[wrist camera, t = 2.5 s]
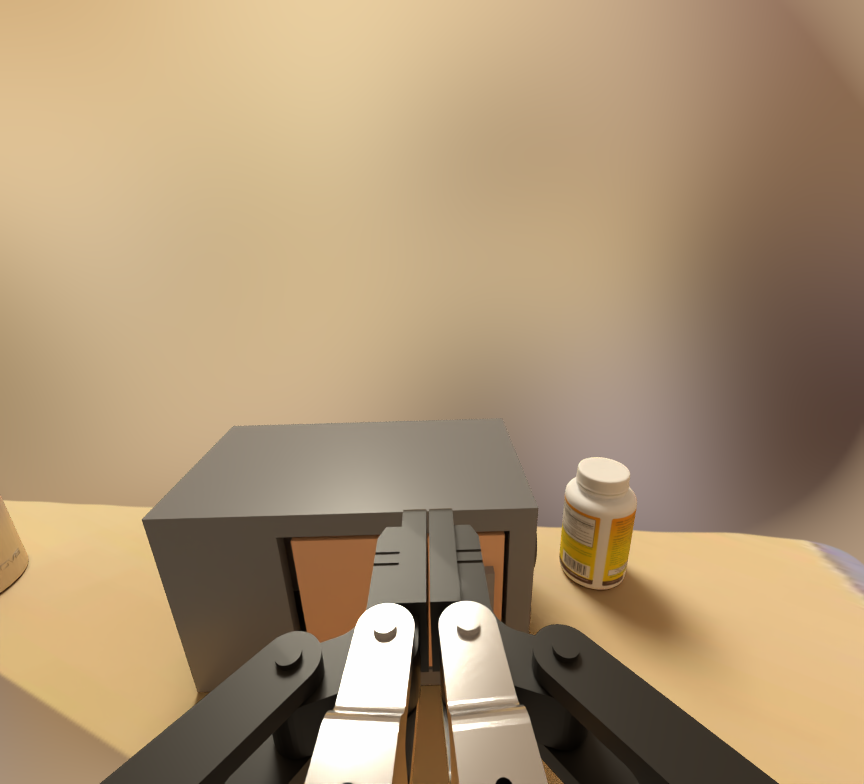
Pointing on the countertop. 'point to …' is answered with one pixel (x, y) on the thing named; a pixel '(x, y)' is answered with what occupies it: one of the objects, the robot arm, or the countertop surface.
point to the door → (364, 579)
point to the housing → (323, 521)
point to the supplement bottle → (597, 524)
